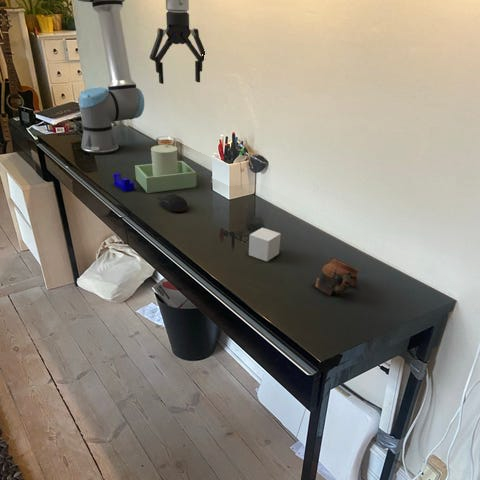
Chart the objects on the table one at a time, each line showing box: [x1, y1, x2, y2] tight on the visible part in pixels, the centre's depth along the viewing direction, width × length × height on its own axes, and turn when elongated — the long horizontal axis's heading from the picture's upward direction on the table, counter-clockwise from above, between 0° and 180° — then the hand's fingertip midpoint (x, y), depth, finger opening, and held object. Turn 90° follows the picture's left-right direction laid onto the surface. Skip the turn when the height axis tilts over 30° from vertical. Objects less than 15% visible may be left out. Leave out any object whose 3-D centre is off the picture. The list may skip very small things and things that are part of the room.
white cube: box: [248, 227, 282, 262], centre depth 131 cm, size 6×6×6 cm
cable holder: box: [112, 172, 135, 193], centre depth 170 cm, size 8×4×4 cm, turn 39°
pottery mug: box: [315, 257, 359, 296], centre depth 117 cm, size 12×10×8 cm
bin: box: [134, 160, 197, 194], centre depth 174 cm, size 14×18×5 cm
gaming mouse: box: [159, 193, 189, 213], centre depth 158 cm, size 6×15×4 cm, turn 36°
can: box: [150, 144, 178, 176], centre depth 172 cm, size 9×9×12 cm
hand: (179, 82), depth 172 cm, fingers open, 13 cm apart
